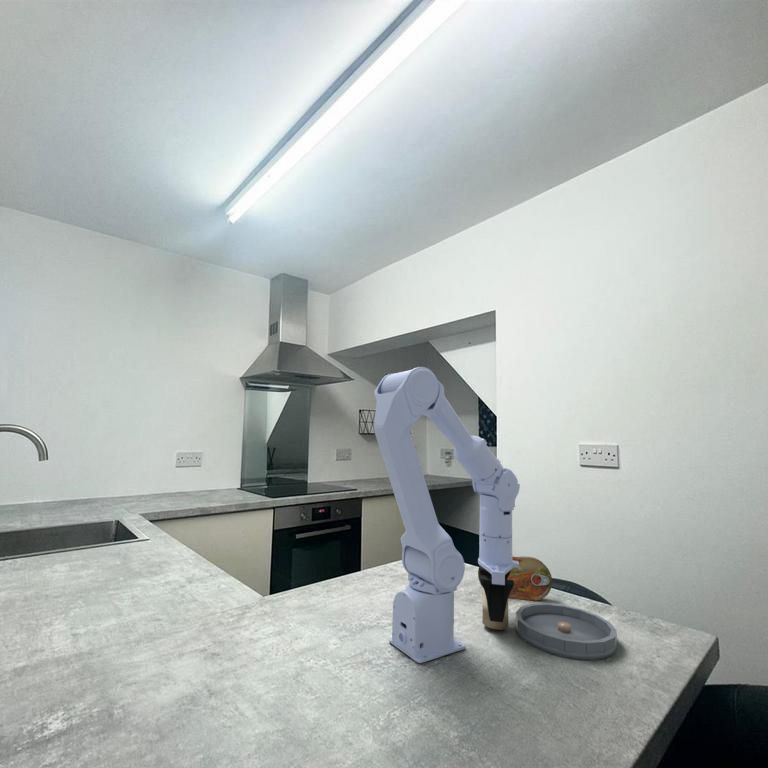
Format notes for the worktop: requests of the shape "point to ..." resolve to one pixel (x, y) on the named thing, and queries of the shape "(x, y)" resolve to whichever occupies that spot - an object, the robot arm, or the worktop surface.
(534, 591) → the tin
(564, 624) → the round tray
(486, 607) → the beige cylinder
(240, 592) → the worktop surface
